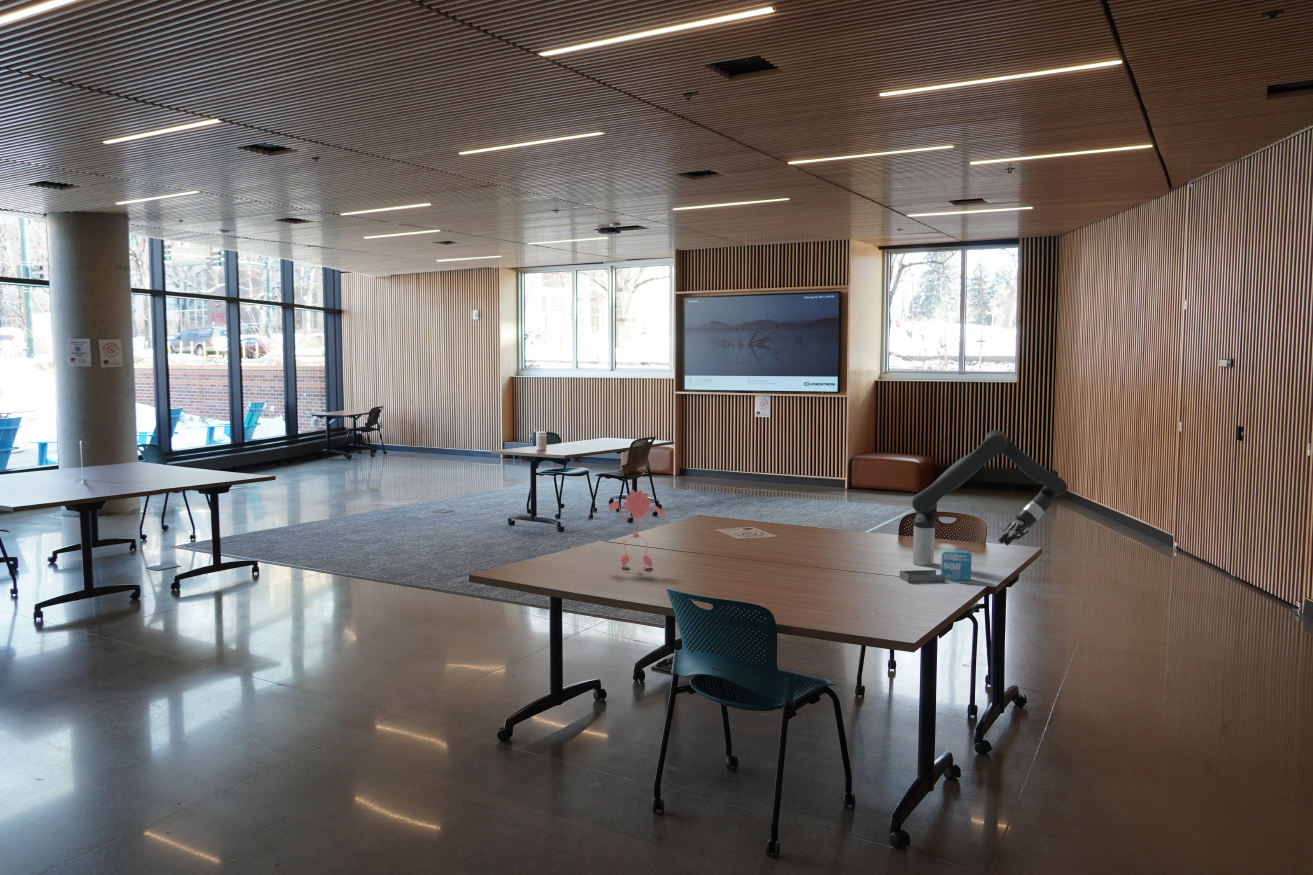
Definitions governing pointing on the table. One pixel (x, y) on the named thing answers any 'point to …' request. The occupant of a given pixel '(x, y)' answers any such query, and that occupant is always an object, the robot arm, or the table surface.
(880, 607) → the table surface
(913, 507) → the robot arm
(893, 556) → the table surface
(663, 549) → the table surface
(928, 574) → the keeper bracket
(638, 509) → the pink fuzzy puppet
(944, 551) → the data package
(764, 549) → the table surface
